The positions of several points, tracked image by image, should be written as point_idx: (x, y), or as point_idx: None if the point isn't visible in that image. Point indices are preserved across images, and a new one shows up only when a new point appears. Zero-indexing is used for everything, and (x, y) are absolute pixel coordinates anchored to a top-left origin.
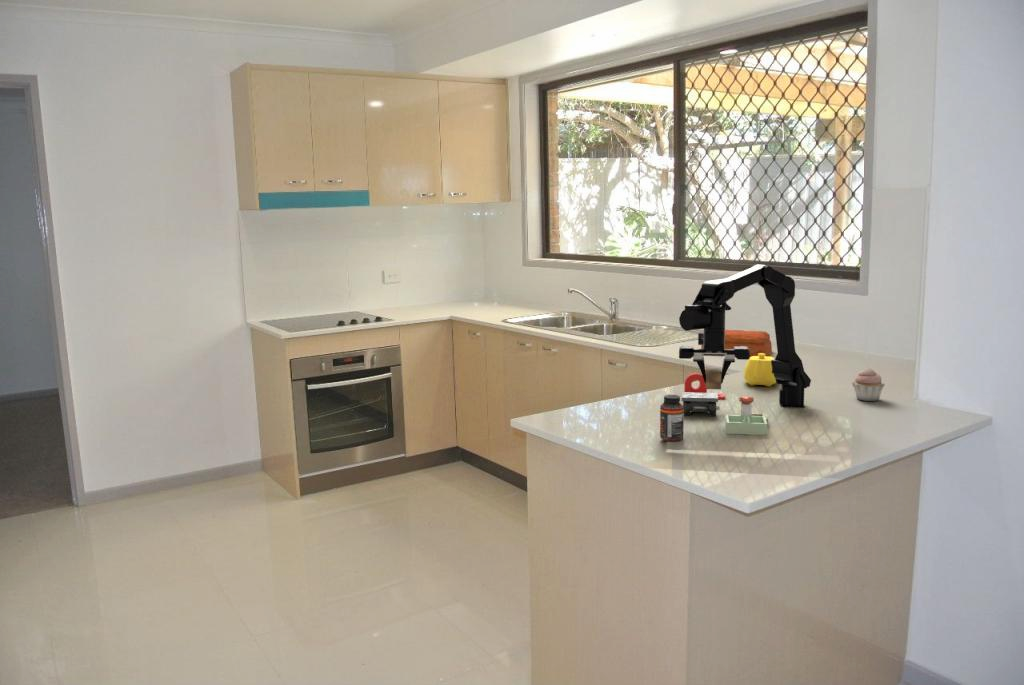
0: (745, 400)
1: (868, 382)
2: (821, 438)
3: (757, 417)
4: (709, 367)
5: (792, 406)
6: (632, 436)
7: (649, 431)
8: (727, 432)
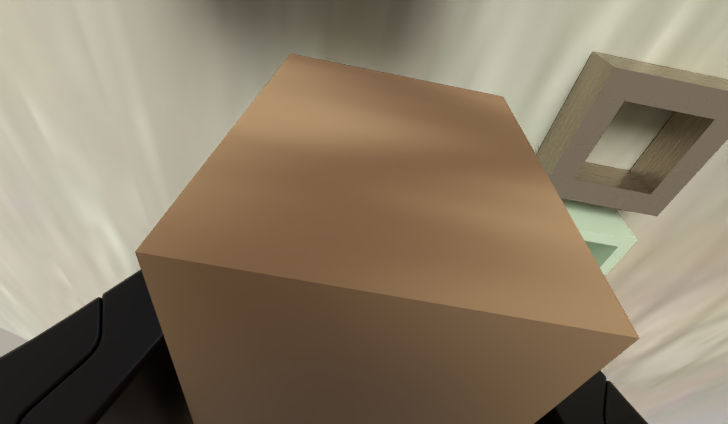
0: None
1: None
2: (702, 334)
3: (589, 238)
4: (258, 319)
5: None
6: (60, 266)
7: (93, 220)
8: None
